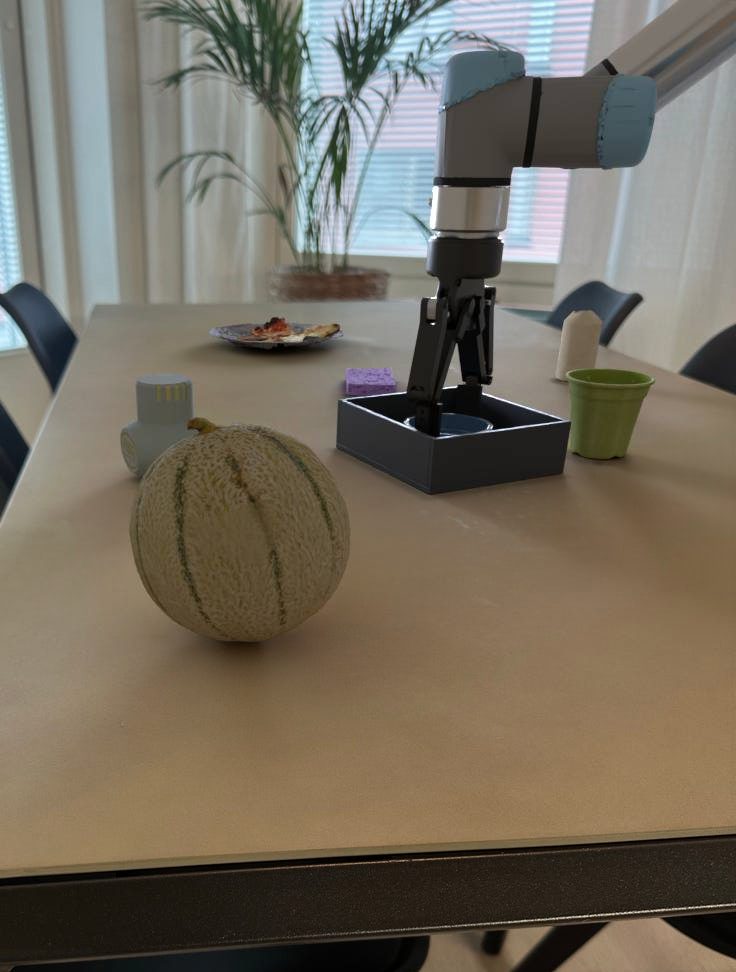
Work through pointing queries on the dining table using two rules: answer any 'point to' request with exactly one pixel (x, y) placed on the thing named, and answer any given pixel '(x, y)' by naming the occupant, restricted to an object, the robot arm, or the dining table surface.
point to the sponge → (370, 381)
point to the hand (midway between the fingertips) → (444, 452)
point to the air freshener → (157, 419)
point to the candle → (578, 342)
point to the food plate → (276, 333)
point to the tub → (452, 442)
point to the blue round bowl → (457, 424)
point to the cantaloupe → (239, 532)
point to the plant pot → (605, 409)
